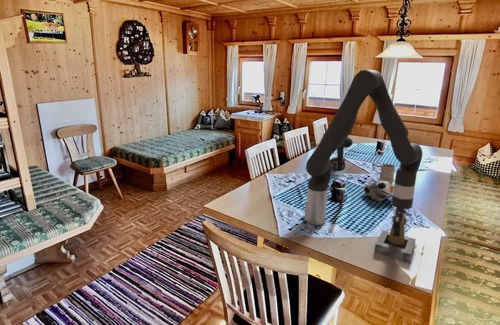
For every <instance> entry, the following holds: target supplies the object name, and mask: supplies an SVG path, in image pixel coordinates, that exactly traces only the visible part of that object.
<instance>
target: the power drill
mask: <svg viewBox="0 0 500 325" xmlns="http://www.w3.org/2000/svg"><path fill="white" fill-rule="evenodd" d="M324 134H325V133H323V135H322V137H323V136H324ZM351 146H353V139H351V138H350V137H349V136H348V137H347V138H346V140H345V141H344V142H343V143H342V144H341V145H340V147H339V148H338V149H337V150H336V152H337V156H334V157H330V160H331V164H332V167H331V169H334V170H338V171H339V170H344V169H345V168H346V159H345V158H343V157H344V152H345V151H344V148H345V149H348V148H349V149H350V147H351Z"/></svg>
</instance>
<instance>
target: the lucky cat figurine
mask: <svg viewBox="0 0 500 325" xmlns="http://www.w3.org/2000/svg"><path fill="white" fill-rule="evenodd" d="M393 187H394V185H392V184H391V182H387V181H380V180H377V181H375V182H374V183H370V184H369V183H368V184H366V185H365V186H364V188H363V191H364V195H365V196H366V197H367V198H369V199H370V200H371V201H376V202H382V201H383V200H385V199H387V198H389V197H390V196H392V193H393Z"/></svg>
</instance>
